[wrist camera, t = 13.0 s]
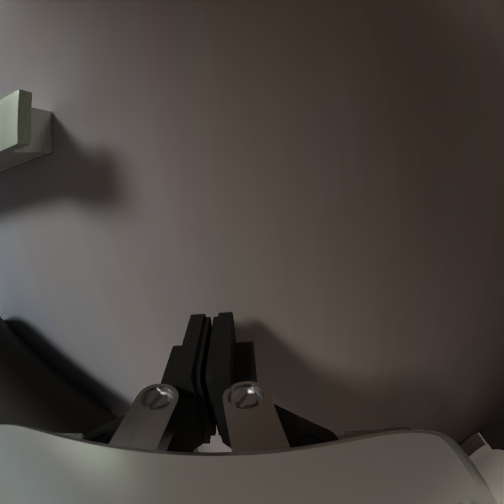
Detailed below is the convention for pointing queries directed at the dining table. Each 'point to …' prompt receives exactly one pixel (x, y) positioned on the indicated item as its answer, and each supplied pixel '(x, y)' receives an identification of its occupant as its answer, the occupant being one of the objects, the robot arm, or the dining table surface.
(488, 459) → the light bulb
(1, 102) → the mounting bracket
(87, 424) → the end cap
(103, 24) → the dining table surface
